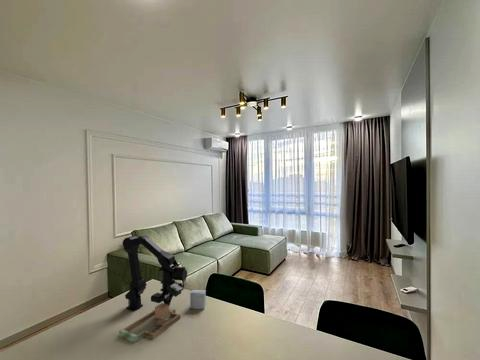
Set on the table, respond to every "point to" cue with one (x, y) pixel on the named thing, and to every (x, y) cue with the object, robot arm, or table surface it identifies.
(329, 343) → the table surface
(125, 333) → the trap lane
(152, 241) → the robot arm
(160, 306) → the block
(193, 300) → the medicine box
